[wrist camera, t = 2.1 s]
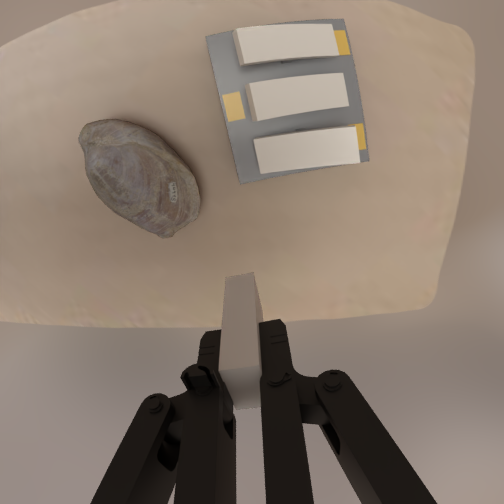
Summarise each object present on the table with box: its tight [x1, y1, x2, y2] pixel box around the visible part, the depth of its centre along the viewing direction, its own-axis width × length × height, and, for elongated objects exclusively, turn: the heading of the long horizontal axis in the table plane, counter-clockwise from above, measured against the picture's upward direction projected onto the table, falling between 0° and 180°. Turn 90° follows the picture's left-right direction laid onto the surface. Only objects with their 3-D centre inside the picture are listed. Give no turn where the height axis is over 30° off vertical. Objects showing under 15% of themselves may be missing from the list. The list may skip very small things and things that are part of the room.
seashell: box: [79, 119, 200, 238], centre depth 31 cm, size 9×12×15 cm
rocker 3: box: [253, 125, 360, 174], centre depth 29 cm, size 10×4×2 cm, turn 102°
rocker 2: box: [245, 73, 349, 121], centre depth 26 cm, size 10×4×2 cm, turn 102°
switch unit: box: [206, 19, 369, 184], centre depth 29 cm, size 15×17×5 cm
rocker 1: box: [232, 24, 339, 66], centre depth 24 cm, size 10×4×2 cm, turn 102°
